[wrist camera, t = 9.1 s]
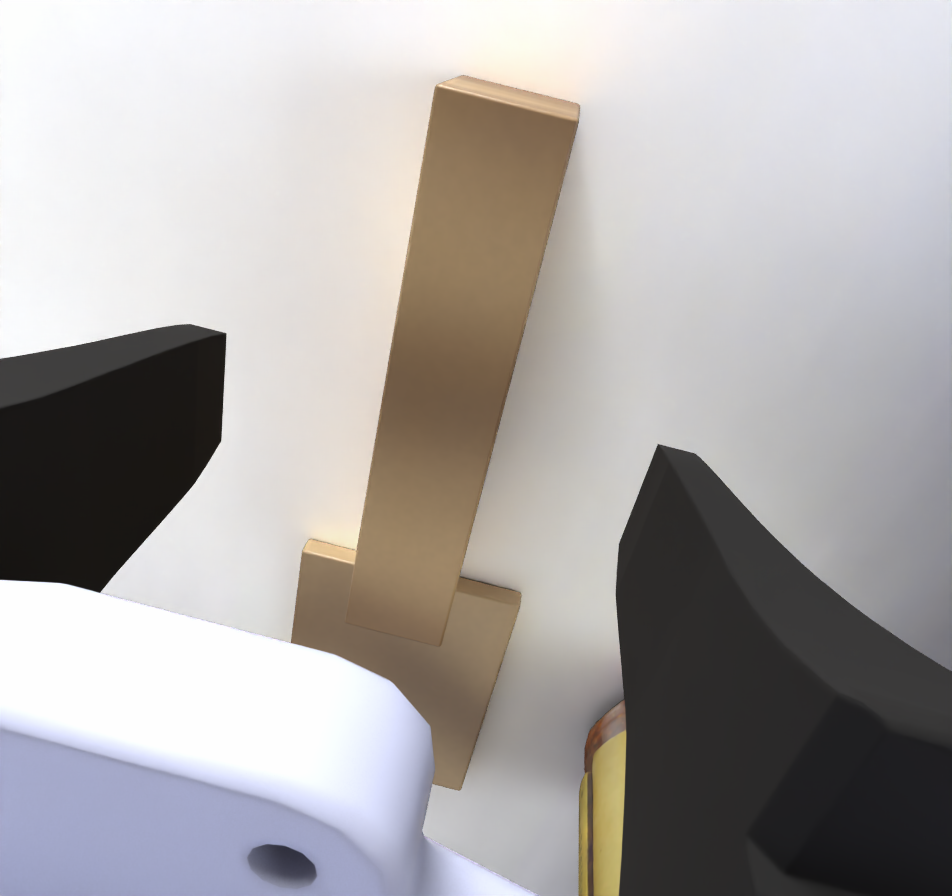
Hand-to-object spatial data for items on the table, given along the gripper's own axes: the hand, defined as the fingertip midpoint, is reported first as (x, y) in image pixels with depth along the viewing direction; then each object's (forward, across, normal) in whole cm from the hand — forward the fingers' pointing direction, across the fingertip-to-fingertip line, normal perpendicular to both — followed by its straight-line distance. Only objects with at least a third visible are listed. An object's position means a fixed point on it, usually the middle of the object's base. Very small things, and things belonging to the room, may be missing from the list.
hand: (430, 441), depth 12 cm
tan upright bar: (+5, 0, +5) cm, 7 cm away
